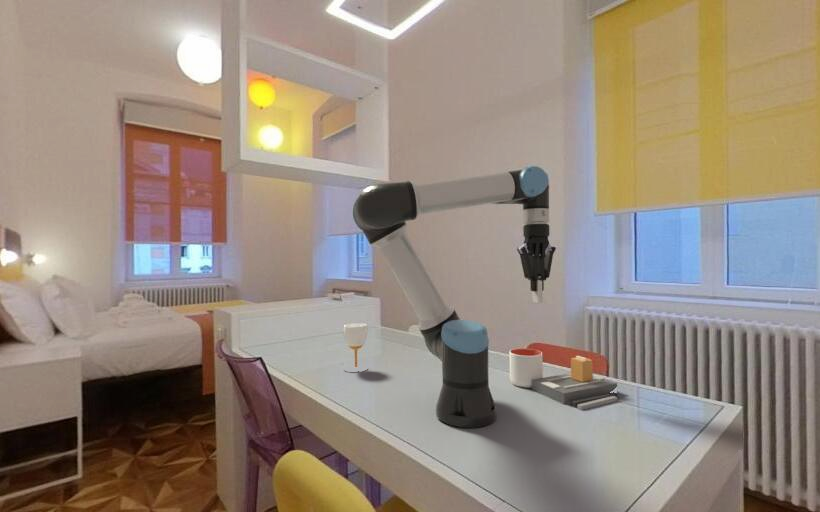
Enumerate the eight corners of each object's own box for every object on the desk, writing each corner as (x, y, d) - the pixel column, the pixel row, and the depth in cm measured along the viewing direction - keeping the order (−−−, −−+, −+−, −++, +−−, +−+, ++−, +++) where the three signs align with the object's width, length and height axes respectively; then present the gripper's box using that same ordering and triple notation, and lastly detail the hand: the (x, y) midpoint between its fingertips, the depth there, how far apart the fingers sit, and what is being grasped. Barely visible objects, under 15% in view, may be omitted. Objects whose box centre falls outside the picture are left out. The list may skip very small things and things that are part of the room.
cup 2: (371, 370, 142) (370, 326, 142) (346, 374, 138) (345, 328, 138) (364, 364, 150) (364, 322, 150) (341, 367, 147) (340, 324, 147)
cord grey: (581, 410, 104) (580, 406, 104) (577, 408, 105) (577, 404, 105) (617, 400, 110) (617, 397, 110) (613, 399, 111) (613, 395, 111)
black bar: (574, 407, 105) (574, 402, 105) (570, 405, 107) (570, 401, 107) (618, 398, 112) (618, 393, 112) (613, 396, 113) (613, 392, 113)
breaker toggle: (582, 382, 116) (582, 359, 116) (571, 378, 120) (570, 356, 120) (592, 380, 117) (592, 358, 117) (581, 376, 121) (580, 354, 121)
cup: (544, 389, 119) (544, 356, 119) (510, 388, 121) (510, 355, 121) (540, 379, 129) (540, 348, 129) (509, 378, 131) (508, 347, 131)
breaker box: (564, 404, 108) (563, 392, 108) (532, 389, 120) (531, 378, 120) (617, 393, 115) (617, 382, 115) (582, 380, 127) (582, 370, 127)
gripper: (526, 222, 114) (528, 304, 114) (562, 223, 119) (563, 302, 119) (510, 224, 121) (511, 302, 121) (544, 225, 126) (545, 299, 126)
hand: (537, 301), depth 120 cm, fingers closed
